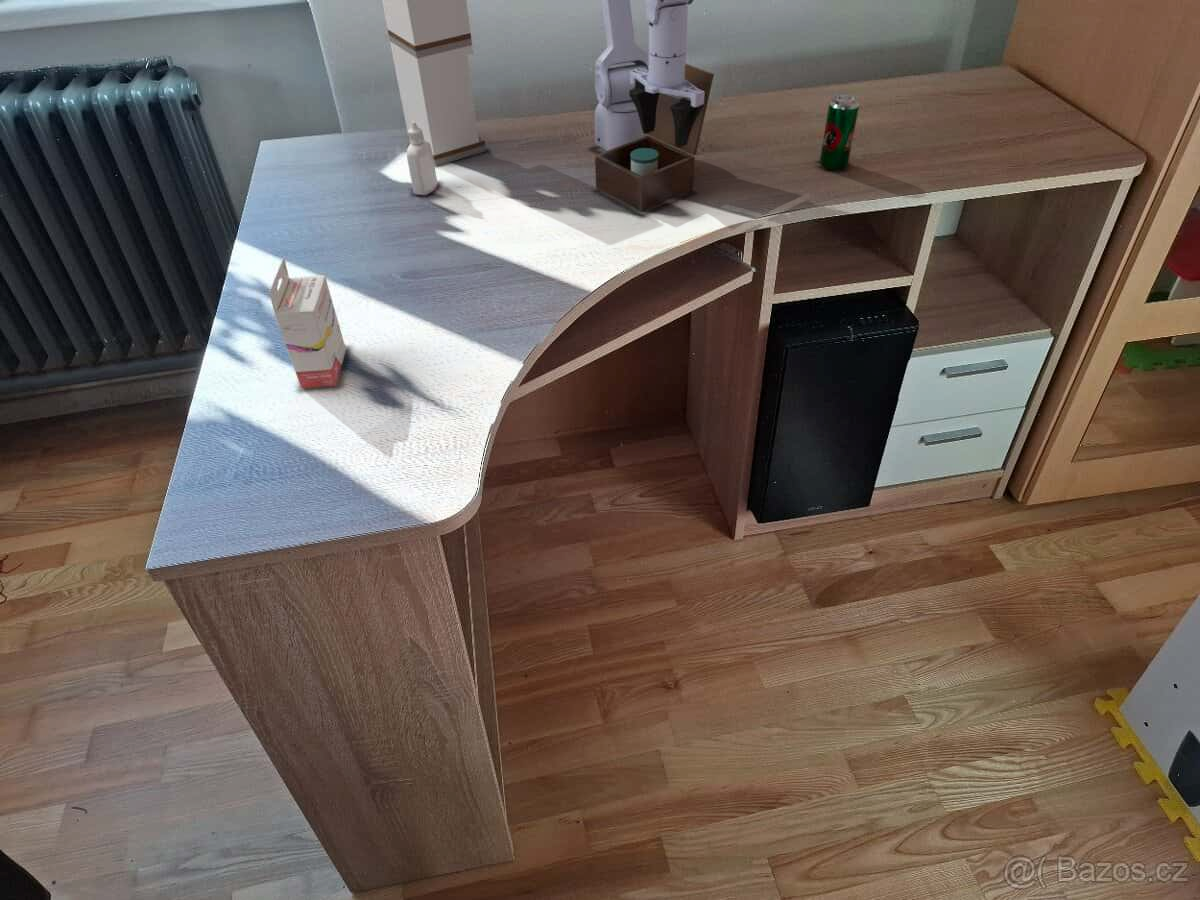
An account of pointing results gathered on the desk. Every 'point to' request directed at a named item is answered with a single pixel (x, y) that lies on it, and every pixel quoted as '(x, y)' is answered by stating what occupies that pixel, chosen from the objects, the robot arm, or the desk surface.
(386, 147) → the desk surface
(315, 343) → the ink cartridge box
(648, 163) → the container
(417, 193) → the eye dropper bottle
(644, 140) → the box
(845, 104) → the soda can
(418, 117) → the brown banded pillar
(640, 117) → the robot arm
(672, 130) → the box lid
